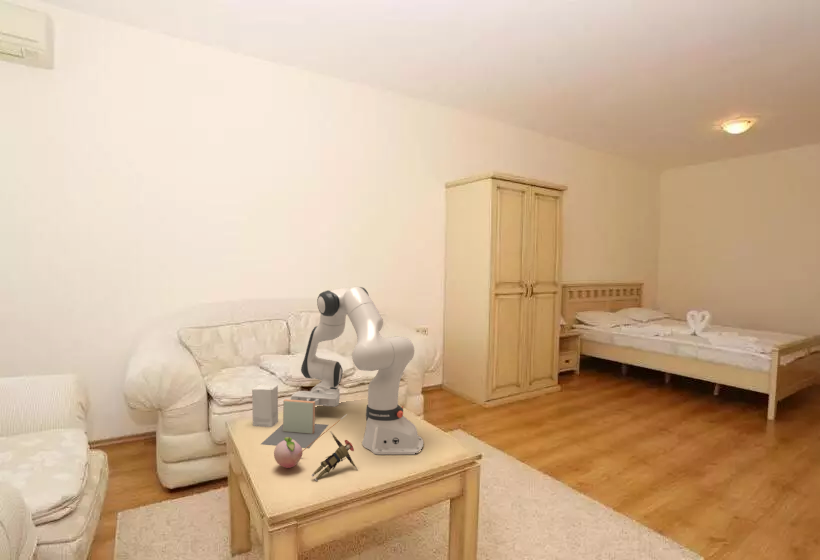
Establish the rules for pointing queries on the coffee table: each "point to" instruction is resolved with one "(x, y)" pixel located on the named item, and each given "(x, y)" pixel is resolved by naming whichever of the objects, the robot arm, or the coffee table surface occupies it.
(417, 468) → the coffee table surface
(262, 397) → the skincare box
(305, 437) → the mat
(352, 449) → the samurai figurine
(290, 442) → the decorative fruit
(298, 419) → the tile
